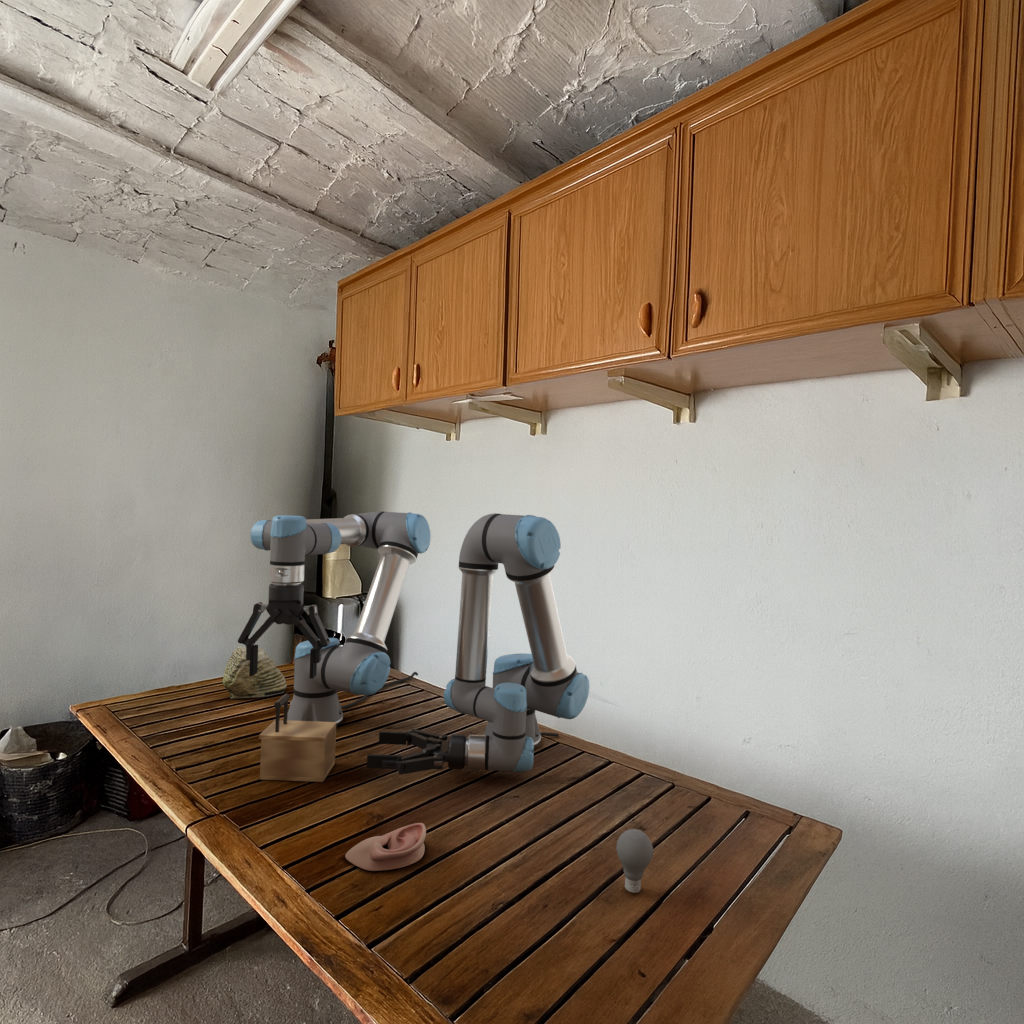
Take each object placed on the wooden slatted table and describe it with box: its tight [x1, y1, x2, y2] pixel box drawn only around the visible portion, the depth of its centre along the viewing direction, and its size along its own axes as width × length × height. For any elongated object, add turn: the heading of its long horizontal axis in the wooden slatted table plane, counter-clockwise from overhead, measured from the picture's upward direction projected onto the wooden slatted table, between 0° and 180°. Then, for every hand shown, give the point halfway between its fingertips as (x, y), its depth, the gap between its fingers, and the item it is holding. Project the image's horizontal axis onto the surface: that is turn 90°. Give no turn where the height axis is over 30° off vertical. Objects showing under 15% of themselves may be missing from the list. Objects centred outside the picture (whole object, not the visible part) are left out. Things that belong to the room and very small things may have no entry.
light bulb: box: [615, 828, 654, 894], centre depth 106 cm, size 6×6×10 cm
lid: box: [258, 693, 337, 742], centre depth 145 cm, size 14×10×8 cm
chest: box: [259, 727, 337, 783], centre depth 145 cm, size 14×10×9 cm
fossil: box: [222, 646, 288, 699], centre depth 198 cm, size 9×18×15 cm, turn 132°
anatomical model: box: [344, 822, 427, 872], centre depth 113 cm, size 13×4×12 cm
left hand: (283, 675), depth 145 cm, fingers open, 13 cm apart
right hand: (373, 748), depth 145 cm, fingers open, 13 cm apart
